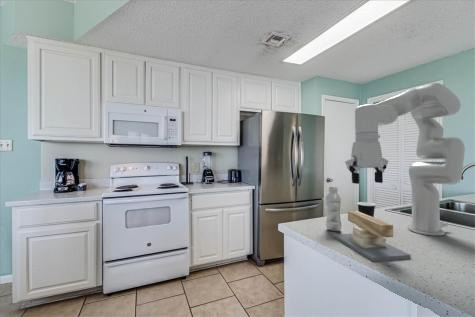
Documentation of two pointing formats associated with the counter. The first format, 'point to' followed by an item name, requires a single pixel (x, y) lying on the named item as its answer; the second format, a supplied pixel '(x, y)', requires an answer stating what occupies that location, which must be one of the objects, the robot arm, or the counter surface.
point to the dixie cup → (366, 208)
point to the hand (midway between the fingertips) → (367, 182)
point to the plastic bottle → (333, 210)
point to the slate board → (374, 250)
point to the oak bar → (371, 224)
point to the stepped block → (366, 238)
